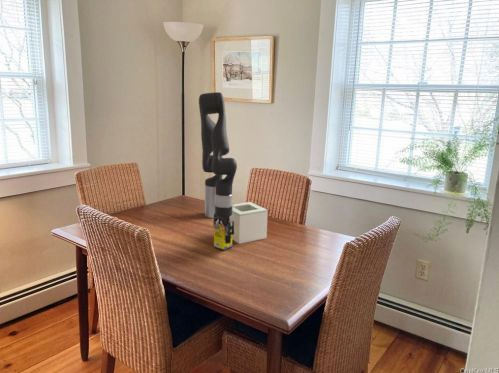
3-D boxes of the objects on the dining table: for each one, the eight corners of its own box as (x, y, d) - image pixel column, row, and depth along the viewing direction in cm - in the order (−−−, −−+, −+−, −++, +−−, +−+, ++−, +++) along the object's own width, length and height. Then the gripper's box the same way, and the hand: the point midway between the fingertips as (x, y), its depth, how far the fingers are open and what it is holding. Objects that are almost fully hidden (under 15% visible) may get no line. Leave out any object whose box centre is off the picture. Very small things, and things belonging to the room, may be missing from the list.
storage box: (223, 233, 198) (223, 205, 194) (249, 228, 206) (250, 201, 202) (239, 243, 185) (239, 214, 182) (266, 238, 193) (267, 209, 190)
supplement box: (223, 251, 177) (224, 227, 174) (213, 247, 180) (213, 224, 177) (232, 247, 181) (233, 223, 179) (222, 244, 185) (222, 220, 182)
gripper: (208, 201, 180) (208, 236, 184) (224, 209, 168) (223, 247, 172) (223, 199, 184) (222, 233, 188) (239, 207, 172) (239, 243, 176)
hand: (223, 239), depth 180 cm, fingers open, 8 cm apart
